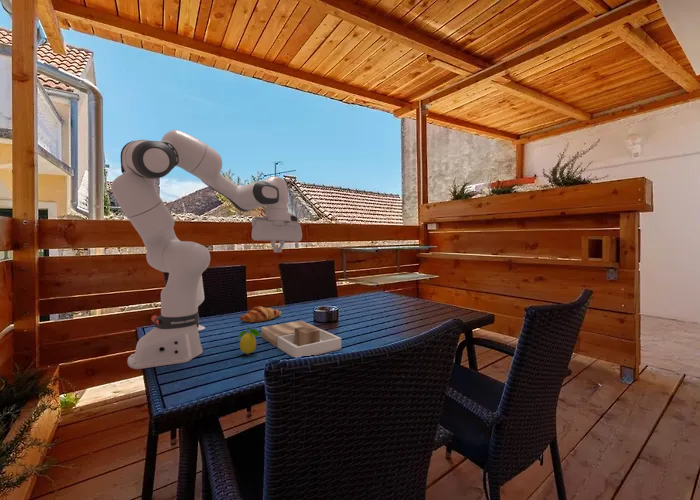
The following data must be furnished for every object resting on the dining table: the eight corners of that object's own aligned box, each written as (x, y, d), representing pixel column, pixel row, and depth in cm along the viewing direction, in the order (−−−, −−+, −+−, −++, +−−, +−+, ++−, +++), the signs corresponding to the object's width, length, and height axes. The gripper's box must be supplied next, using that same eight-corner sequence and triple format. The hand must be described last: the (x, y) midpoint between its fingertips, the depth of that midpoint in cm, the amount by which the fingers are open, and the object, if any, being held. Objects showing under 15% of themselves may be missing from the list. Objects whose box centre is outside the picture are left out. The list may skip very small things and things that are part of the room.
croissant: (277, 321, 177) (274, 306, 179) (287, 315, 170) (283, 300, 172) (237, 328, 162) (234, 312, 165) (246, 322, 156) (242, 305, 158)
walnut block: (294, 344, 130) (305, 350, 123) (294, 328, 130) (305, 333, 123) (308, 341, 133) (319, 346, 127) (308, 325, 133) (319, 330, 127)
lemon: (261, 355, 120) (260, 326, 119) (244, 359, 116) (244, 329, 115) (253, 350, 125) (252, 322, 124) (236, 353, 121) (236, 325, 120)
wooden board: (276, 346, 128) (276, 335, 128) (261, 337, 140) (261, 327, 139) (318, 337, 139) (318, 327, 139) (301, 329, 150) (301, 320, 150)
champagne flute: (184, 329, 150) (183, 274, 149) (198, 325, 156) (196, 272, 155) (195, 331, 147) (194, 275, 146) (208, 327, 153) (207, 273, 152)
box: (296, 359, 115) (296, 347, 115) (277, 347, 128) (277, 336, 127) (341, 348, 126) (341, 338, 126) (319, 338, 138) (319, 328, 138)
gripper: (254, 214, 132) (254, 251, 131) (303, 218, 143) (304, 251, 142) (249, 217, 137) (249, 252, 136) (296, 220, 148) (297, 253, 147)
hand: (277, 252), depth 139 cm, fingers closed
